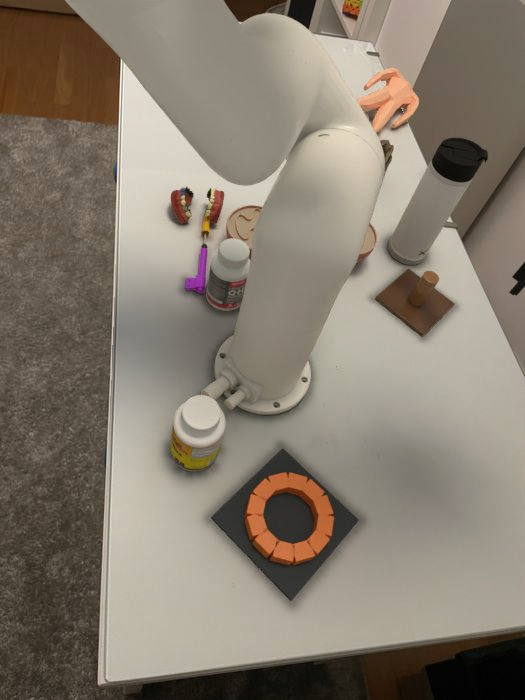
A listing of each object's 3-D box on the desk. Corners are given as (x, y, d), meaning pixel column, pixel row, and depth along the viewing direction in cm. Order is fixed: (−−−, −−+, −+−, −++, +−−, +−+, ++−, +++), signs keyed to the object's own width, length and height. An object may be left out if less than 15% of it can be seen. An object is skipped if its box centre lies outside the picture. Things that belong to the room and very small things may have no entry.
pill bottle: (230, 318, 76) (240, 272, 68) (198, 299, 77) (204, 250, 69) (250, 295, 79) (262, 247, 71) (219, 276, 80) (228, 227, 72)
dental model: (222, 201, 81) (168, 202, 81) (224, 224, 84) (172, 224, 84) (224, 178, 84) (172, 178, 84) (226, 201, 87) (176, 201, 88)
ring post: (422, 337, 81) (440, 312, 76) (374, 298, 83) (389, 272, 78) (453, 306, 85) (472, 280, 80) (407, 270, 88) (422, 244, 83)
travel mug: (425, 270, 88) (489, 168, 72) (385, 259, 88) (441, 154, 72) (426, 243, 92) (488, 140, 76) (388, 232, 92) (442, 127, 75)
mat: (291, 601, 58) (291, 600, 57) (211, 517, 61) (211, 517, 61) (358, 520, 64) (359, 519, 63) (282, 448, 67) (282, 447, 67)
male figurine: (368, 153, 103) (417, 112, 118) (387, 137, 99) (435, 96, 114) (332, 106, 101) (387, 70, 117) (350, 87, 97) (404, 53, 113)
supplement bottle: (167, 431, 65) (171, 389, 57) (214, 426, 67) (224, 385, 58) (172, 476, 63) (177, 439, 54) (221, 470, 64) (232, 433, 56)
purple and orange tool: (205, 294, 77) (211, 215, 86) (204, 289, 76) (210, 209, 85) (186, 295, 77) (194, 216, 86) (184, 290, 76) (193, 210, 85)
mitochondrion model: (360, 234, 90) (370, 211, 86) (373, 281, 85) (385, 259, 81) (220, 227, 85) (224, 202, 81) (225, 277, 80) (230, 253, 76)
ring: (292, 584, 58) (296, 580, 57) (227, 519, 61) (229, 514, 59) (345, 519, 63) (350, 515, 62) (283, 462, 66) (286, 456, 64)
